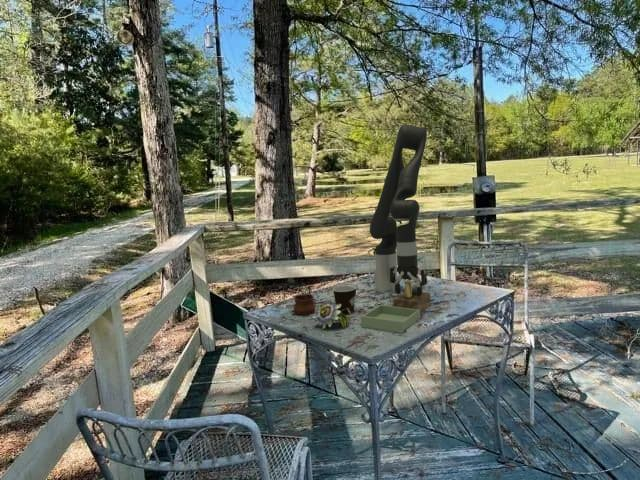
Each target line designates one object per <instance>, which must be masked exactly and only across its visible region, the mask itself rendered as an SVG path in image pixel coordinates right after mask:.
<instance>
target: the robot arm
mask: <svg viewBox="0 0 640 480" xmlns="http://www.w3.org/2000/svg"><path fill="white" fill-rule="evenodd" d="M427 137H428V132H427V130H426V128H424V127H421V126H416V125H413V124H412V125H411V124H407V123H403V124H401V125H400V127H399V128H398V132H397V135H396V138H395V143H394V148H393V153H392V157H391V160H390V163H389V167H388V169H387V173H386V177H385V179H384V183H383V187H382V190H381V193H380V196H379V200H378V202H377V205H376V208H375V211H374V213H373V215H372V218H371V220H370V224H369V234H370V236H371V237H372V239H375V240H381V241H380V242H379V243H378V245H376V246H375V247H374V257H375V258H374V259H375V260H374V261H375V270H373V273H374V291H375V292H378V293H382V294H385V293H395V294H397V295H400V294H402V293H401V292H402V290H401V282H402V280H404V281H405V280H408V281H412V282H413V283H414V284H415V285H416V286H418V287H417V296H419V297H420V296H421V295H422V293H423V292H424V291H423V287H424V286H426V285H427V284H428V275H427V269H426V268H422V269H421V268H419V266H418V245H417V233H416V231H417V230H416V228H417V221H418V217H419V214H420V203H419V202H418V201H417V200H416V199H410V198H412V197H415V196H416V194H417V189H418V180H419V174H420V168H421V166H422V165H421V164H422V160H423V157H424V153H425V149H426V144H427ZM403 149H406V150H410V151H414V154H413V157H412V158H411V160H409V161H408V162H407V163H406V165H405V164H404V160H403ZM407 219H408V222H407V223H405V224H400V225H398V224H397V221H396V220H407ZM418 274H419V275H420V277H419V275H418Z"/></svg>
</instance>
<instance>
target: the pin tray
mask: <svg viewBox="0 0 640 480" xmlns="http://www.w3.org/2000/svg"><path fill="white" fill-rule="evenodd" d="M421 315H422V314H421V313H420V310H418V309H410V308H402V307H394V306H393V305H391V306H390V305H385V304H379V305H377V306H376V307H374V308H373V309H371V310H369V311H367V312H366V313H364V314H363V315H361V316H360V321H361V323H360V324H361V328H365V329H372V330H379V331H384V332H385V331H386V332H391V333H399V334H405V333H406V332H407V330H406V329H408V328H409V327H411V326H412V325H413V324H414V323H416V322H417V321H418V320H420V319H421V318H422V316H421Z"/></svg>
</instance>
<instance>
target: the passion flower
mask: <svg viewBox="0 0 640 480" xmlns="http://www.w3.org/2000/svg"><path fill="white" fill-rule="evenodd" d="M334 302H335V298H330V300H329V301H324V302H322V303H321V304H320V305H318V306H319V307H318V310H317V311H316V310H315V314H313V316H312V319H314V320H315V319H316V320H317V321H319V323H318V326H322V330H325V329H326V328H327V326H328V327H329V328H331V327H333V321H335V322H336V323H338V322H340V325H341V327H342V328H343V329H346V328H347V325H350V318H349V317H348V316H347V315H344V314H343V313H342V312H341V311H339V310H338V309H339V308H340V307H341V304H337V305H336V304H334ZM346 309H347V310H348V312H349V315H350V314H351V313H350V311H349V309H348V308H346ZM344 310H345V309H344ZM342 311H343V310H342ZM346 323H347V324H346Z"/></svg>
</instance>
